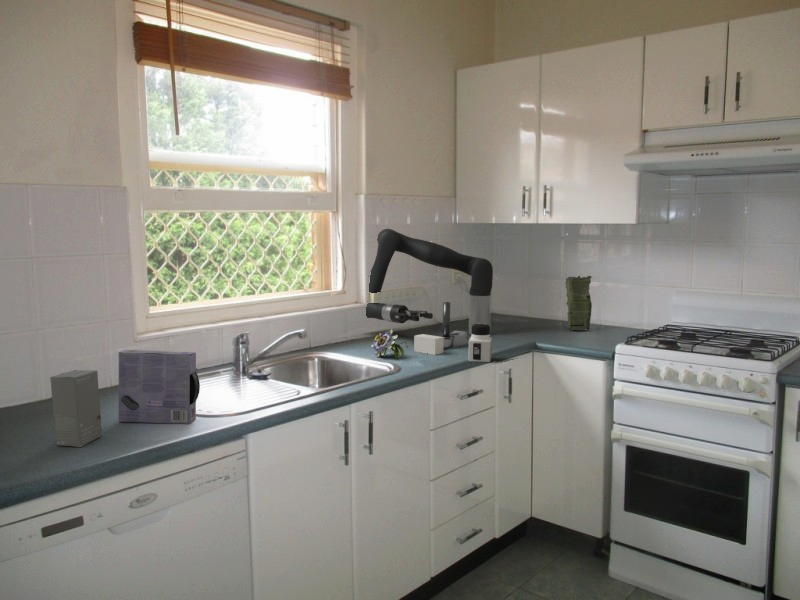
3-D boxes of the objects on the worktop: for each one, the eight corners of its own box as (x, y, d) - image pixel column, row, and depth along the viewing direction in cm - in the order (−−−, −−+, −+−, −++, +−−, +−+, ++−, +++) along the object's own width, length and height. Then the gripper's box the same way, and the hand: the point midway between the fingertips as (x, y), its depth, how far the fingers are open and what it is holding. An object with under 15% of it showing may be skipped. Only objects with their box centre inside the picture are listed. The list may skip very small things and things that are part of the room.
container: (490, 362, 235) (491, 326, 233) (468, 361, 236) (468, 325, 235) (491, 358, 242) (492, 322, 241) (470, 357, 244) (471, 322, 242)
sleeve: (457, 343, 270) (457, 330, 270) (467, 344, 267) (467, 331, 266) (443, 346, 264) (443, 333, 263) (454, 348, 260) (454, 334, 260)
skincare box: (80, 448, 146) (77, 377, 144) (51, 446, 147) (47, 376, 145) (104, 435, 154) (100, 369, 152) (76, 433, 156) (72, 367, 154)
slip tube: (457, 341, 269) (457, 299, 267) (464, 342, 267) (464, 300, 264) (433, 347, 257) (434, 303, 255) (440, 348, 255) (441, 304, 253)
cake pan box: (201, 418, 168) (199, 349, 166) (194, 424, 163) (192, 354, 161) (126, 417, 169) (123, 348, 167) (117, 423, 164) (114, 352, 162)
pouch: (562, 330, 301) (565, 275, 298) (567, 327, 312) (569, 273, 309) (588, 332, 297) (590, 277, 294) (591, 328, 308) (593, 274, 305)
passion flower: (379, 372, 243) (363, 344, 245) (400, 362, 250) (384, 335, 252) (394, 359, 235) (377, 330, 237) (415, 349, 242) (399, 321, 244)
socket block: (422, 349, 257) (422, 334, 257) (443, 352, 251) (443, 337, 250) (414, 351, 254) (414, 335, 253) (435, 354, 247) (435, 339, 246)
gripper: (383, 306, 270) (414, 309, 260) (406, 302, 281) (436, 306, 271) (383, 324, 271) (414, 328, 261) (406, 320, 282) (436, 324, 272)
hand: (425, 317), depth 266 cm, fingers open, 8 cm apart
